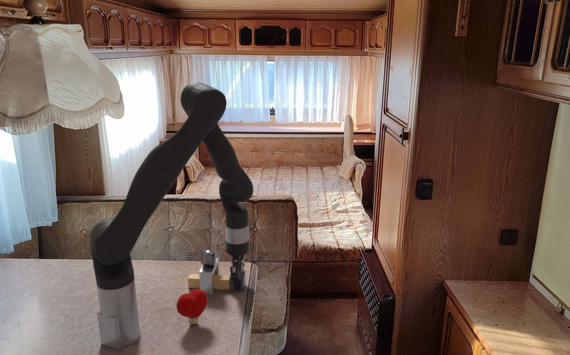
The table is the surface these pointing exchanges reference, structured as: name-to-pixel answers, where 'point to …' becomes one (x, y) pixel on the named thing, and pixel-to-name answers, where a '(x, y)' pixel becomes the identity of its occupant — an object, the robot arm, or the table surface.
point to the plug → (217, 282)
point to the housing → (208, 270)
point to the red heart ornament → (192, 305)
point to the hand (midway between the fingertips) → (238, 285)
